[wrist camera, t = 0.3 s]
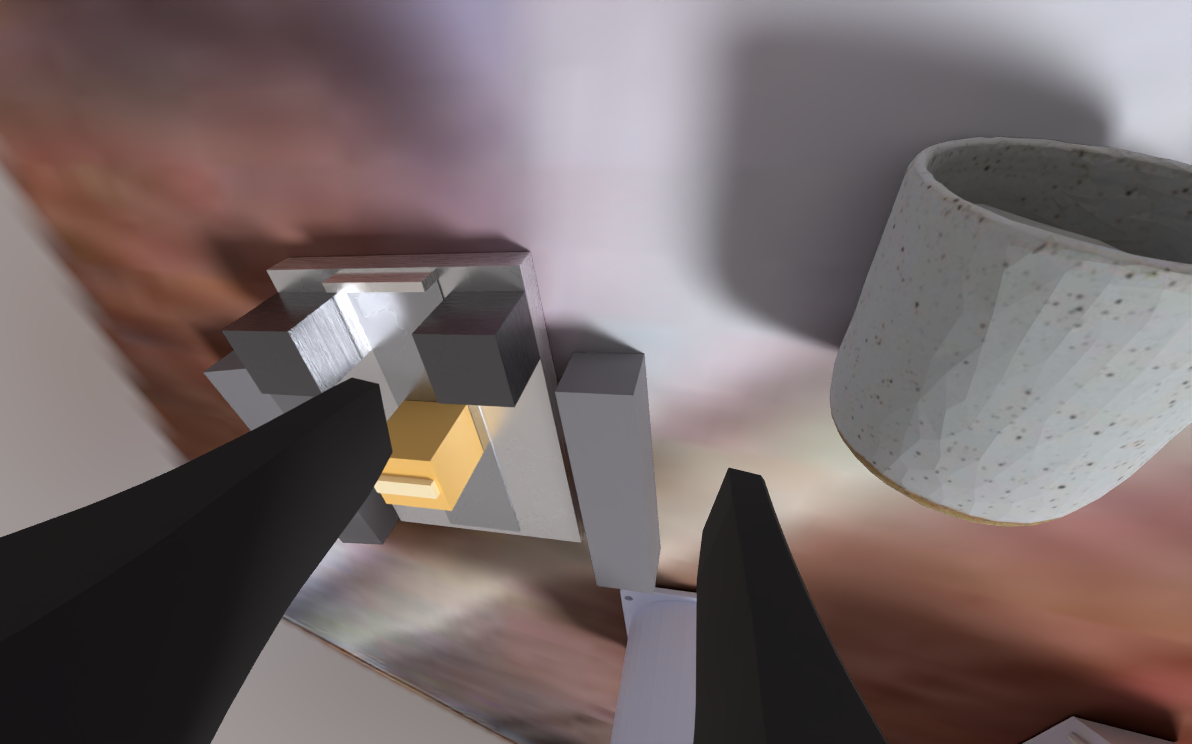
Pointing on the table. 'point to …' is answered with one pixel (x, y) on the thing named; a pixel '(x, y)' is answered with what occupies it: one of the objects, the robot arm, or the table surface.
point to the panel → (507, 424)
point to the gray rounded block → (1021, 328)
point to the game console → (1091, 734)
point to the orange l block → (429, 455)
